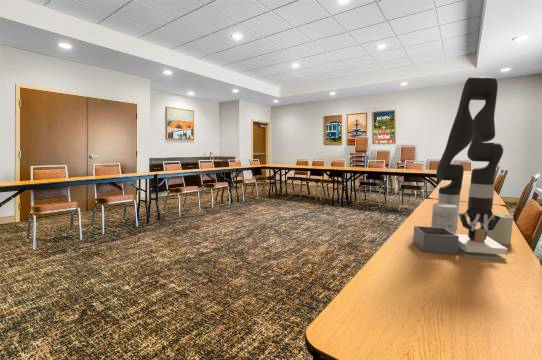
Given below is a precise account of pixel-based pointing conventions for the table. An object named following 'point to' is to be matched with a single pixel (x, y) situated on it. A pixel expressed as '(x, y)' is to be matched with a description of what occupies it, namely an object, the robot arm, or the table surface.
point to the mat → (480, 255)
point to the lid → (480, 243)
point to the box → (435, 240)
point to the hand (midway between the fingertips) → (476, 239)
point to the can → (501, 229)
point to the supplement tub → (444, 216)
